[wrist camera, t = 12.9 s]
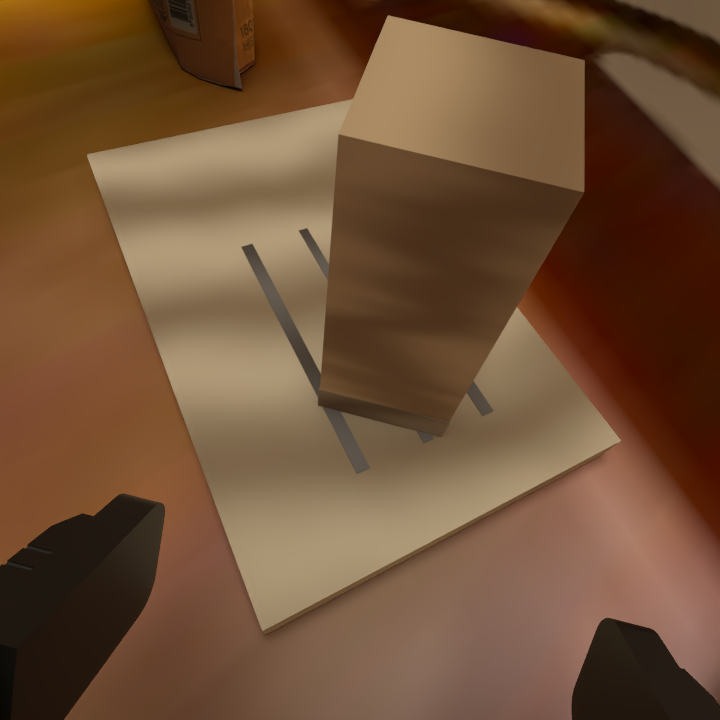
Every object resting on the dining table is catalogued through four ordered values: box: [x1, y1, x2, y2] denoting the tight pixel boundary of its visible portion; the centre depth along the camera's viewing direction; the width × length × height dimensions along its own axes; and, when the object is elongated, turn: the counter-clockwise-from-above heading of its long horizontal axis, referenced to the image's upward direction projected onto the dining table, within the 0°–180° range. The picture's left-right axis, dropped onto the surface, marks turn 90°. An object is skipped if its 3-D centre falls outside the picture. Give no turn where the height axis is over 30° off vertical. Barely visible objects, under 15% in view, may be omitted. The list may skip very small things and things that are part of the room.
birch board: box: [87, 99, 621, 635], centre depth 22 cm, size 22×14×2 cm, turn 27°
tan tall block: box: [318, 16, 584, 437], centre depth 15 cm, size 5×5×11 cm
